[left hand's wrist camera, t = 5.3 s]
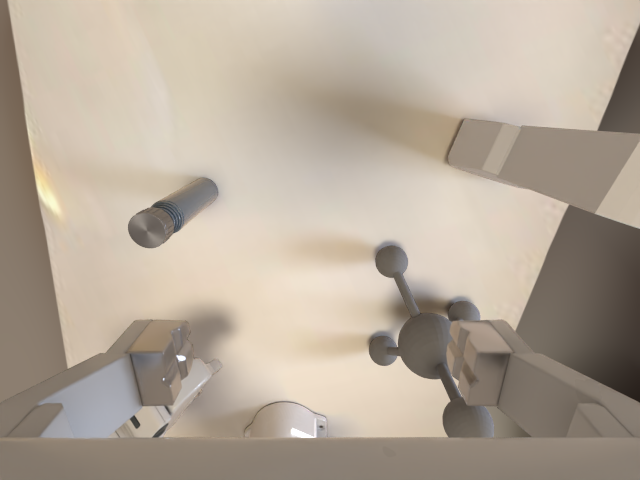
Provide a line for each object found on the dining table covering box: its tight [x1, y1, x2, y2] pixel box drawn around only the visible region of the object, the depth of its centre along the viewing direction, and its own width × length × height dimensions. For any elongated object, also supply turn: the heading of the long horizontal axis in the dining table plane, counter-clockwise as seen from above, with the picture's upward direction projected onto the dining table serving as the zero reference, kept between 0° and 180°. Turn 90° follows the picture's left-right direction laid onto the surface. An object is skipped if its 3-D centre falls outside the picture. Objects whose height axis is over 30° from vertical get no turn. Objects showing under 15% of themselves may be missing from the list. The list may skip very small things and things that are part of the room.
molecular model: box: [369, 246, 494, 438], centre depth 52 cm, size 24×22×30 cm
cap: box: [128, 207, 174, 248], centre depth 39 cm, size 4×4×2 cm
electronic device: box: [448, 119, 640, 229], centre depth 41 cm, size 12×8×30 cm, turn 73°
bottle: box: [151, 178, 218, 233], centre depth 48 cm, size 4×4×20 cm
